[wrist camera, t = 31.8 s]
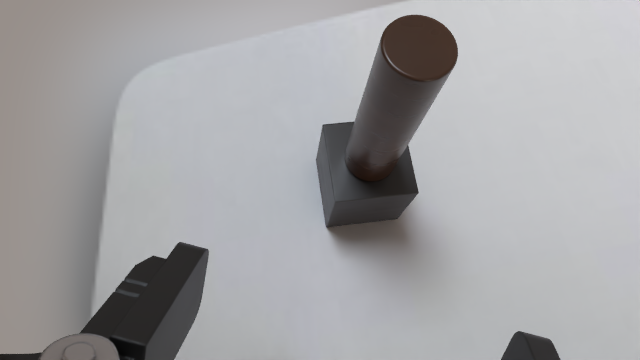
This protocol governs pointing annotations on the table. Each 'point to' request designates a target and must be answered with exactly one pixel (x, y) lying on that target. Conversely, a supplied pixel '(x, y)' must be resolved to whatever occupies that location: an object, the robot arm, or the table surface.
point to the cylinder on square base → (385, 125)
